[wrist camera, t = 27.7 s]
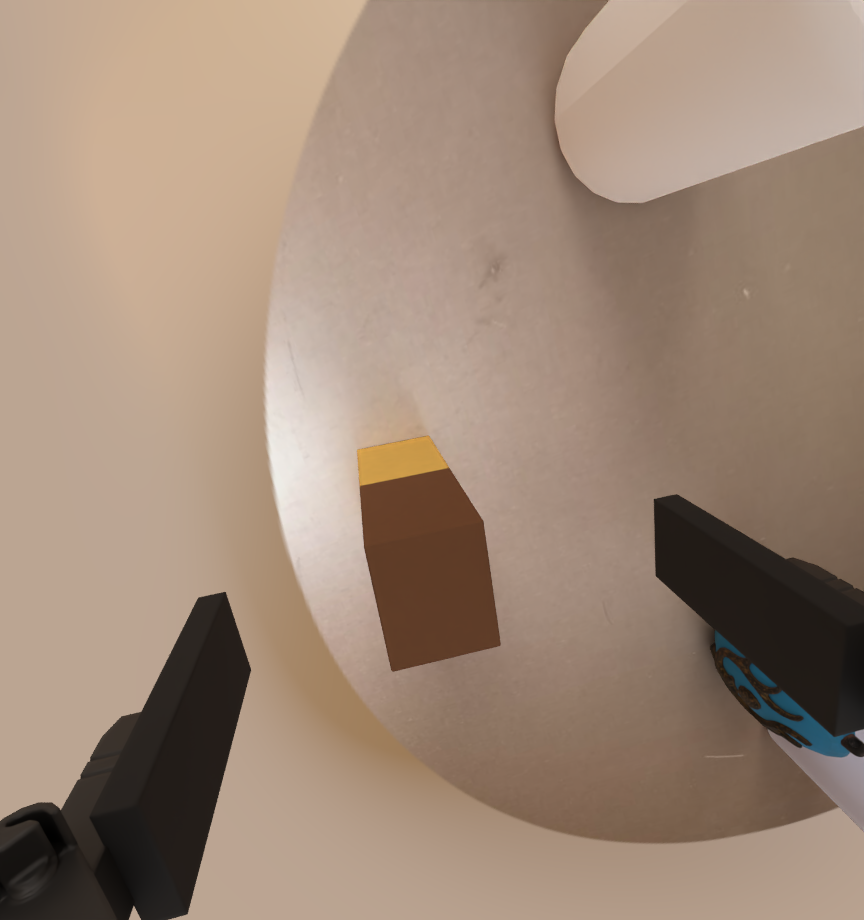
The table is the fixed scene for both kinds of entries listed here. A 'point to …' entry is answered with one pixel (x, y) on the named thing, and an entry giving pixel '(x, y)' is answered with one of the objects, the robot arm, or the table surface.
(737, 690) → the ornament
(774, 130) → the white plastic cylinder
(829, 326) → the table surface
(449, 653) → the sponge
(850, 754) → the spray bottle
